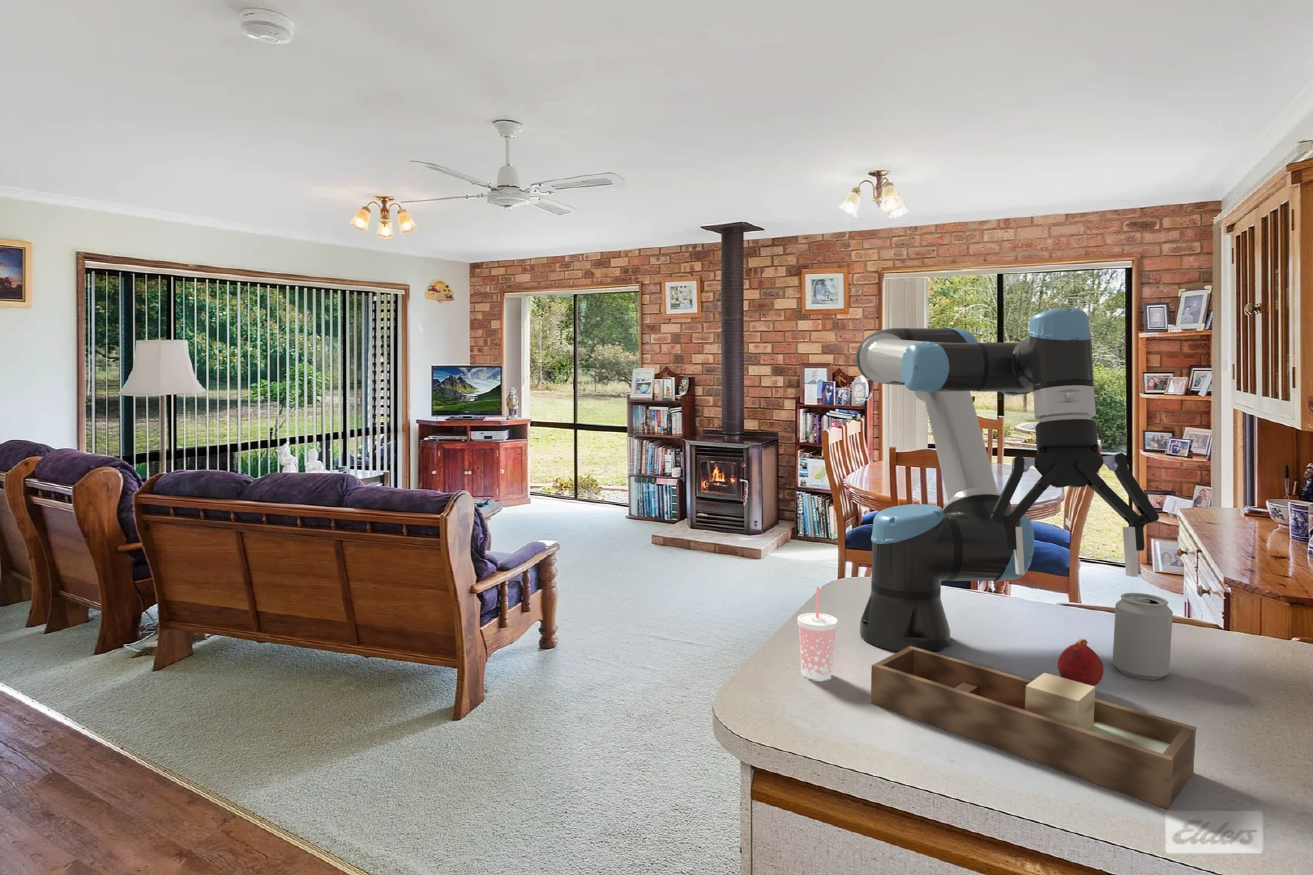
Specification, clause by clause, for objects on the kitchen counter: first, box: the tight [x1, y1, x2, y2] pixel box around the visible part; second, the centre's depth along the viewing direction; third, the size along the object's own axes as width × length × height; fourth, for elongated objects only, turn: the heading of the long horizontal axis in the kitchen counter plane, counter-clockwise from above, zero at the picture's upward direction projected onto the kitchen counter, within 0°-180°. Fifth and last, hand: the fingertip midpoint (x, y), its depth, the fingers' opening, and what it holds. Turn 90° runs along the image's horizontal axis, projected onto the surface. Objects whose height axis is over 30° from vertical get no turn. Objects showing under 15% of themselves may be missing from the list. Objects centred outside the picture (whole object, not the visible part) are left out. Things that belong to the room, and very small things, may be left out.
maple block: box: [1025, 672, 1096, 730], centre depth 94 cm, size 6×6×5 cm
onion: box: [1057, 638, 1104, 687], centre depth 110 cm, size 6×6×8 cm
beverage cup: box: [796, 586, 839, 679], centre depth 116 cm, size 6×6×14 cm
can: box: [1112, 592, 1174, 681], centre depth 117 cm, size 8×8×12 cm
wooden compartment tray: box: [870, 646, 1197, 810], centre depth 98 cm, size 36×11×6 cm, turn 43°
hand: (1074, 575), depth 102 cm, fingers open, 13 cm apart
